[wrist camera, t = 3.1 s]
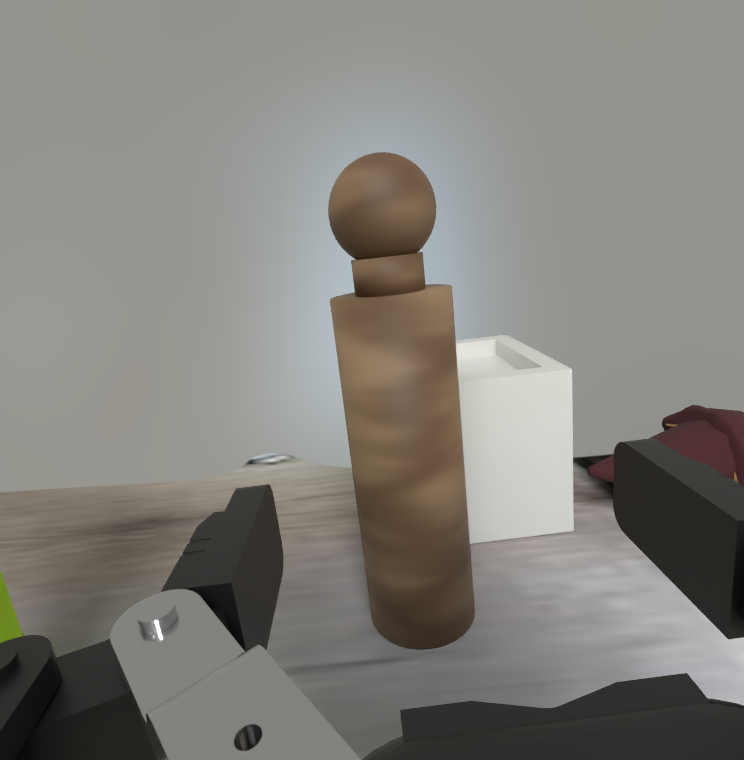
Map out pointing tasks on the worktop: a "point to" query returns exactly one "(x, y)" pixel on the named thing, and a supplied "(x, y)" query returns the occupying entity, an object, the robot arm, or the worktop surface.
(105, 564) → the worktop surface
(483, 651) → the worktop surface
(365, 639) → the worktop surface
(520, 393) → the plinth
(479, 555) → the worktop surface
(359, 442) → the pepper mill
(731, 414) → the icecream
